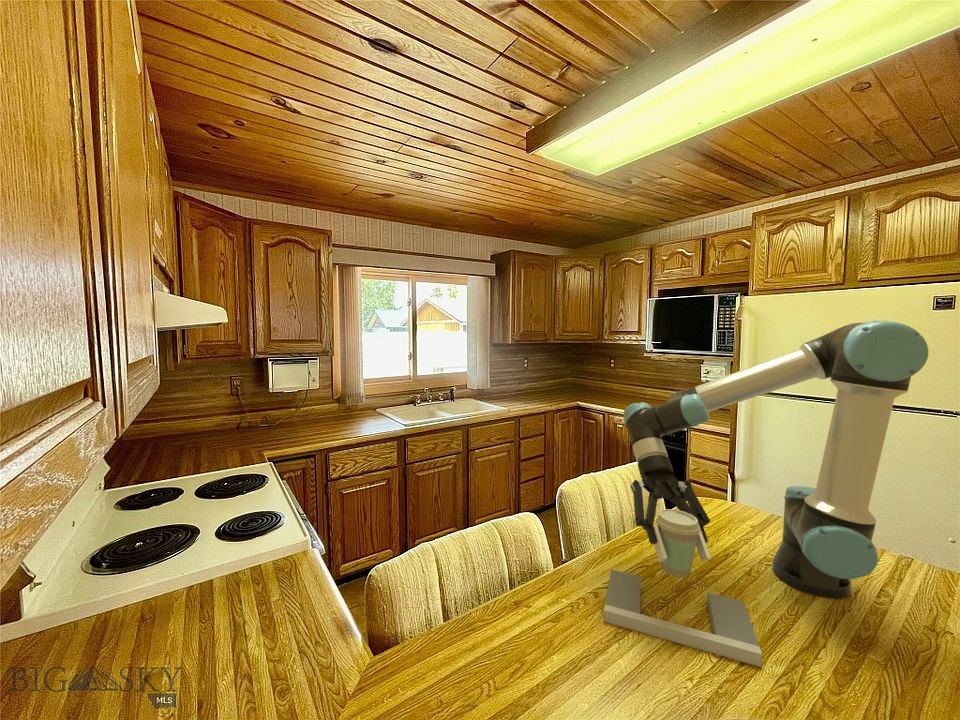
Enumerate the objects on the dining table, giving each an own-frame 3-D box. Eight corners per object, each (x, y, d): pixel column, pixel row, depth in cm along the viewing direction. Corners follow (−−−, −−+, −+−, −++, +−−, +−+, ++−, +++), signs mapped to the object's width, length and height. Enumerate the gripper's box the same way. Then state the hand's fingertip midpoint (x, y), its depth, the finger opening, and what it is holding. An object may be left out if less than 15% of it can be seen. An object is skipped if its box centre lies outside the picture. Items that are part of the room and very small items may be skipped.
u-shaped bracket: (743, 611, 87) (743, 600, 87) (761, 667, 72) (762, 654, 72) (610, 579, 98) (611, 569, 98) (603, 621, 83) (604, 610, 83)
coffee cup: (703, 584, 81) (707, 528, 80) (659, 579, 82) (662, 523, 82) (690, 561, 89) (693, 510, 88) (650, 556, 91) (652, 506, 90)
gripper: (688, 467, 100) (725, 564, 85) (606, 467, 100) (628, 564, 85) (701, 453, 94) (744, 555, 79) (614, 453, 94) (640, 554, 79)
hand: (684, 559), depth 82 cm, fingers closed on coffee cup, 8 cm apart
